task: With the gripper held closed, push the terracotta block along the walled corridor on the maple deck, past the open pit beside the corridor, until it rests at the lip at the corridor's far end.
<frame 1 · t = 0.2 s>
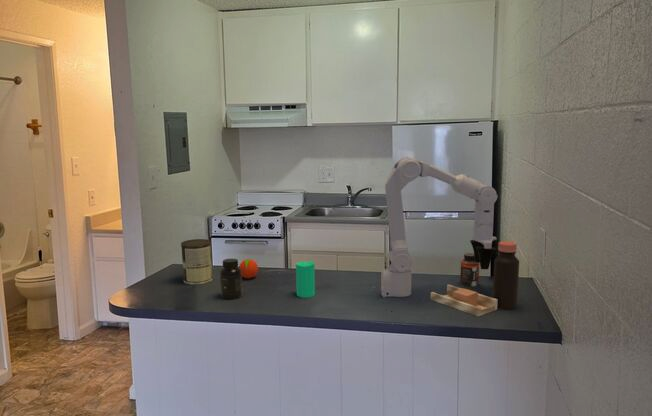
hand: (481, 265, 156), 10 cm above the counter, tool pointing down, fingers open, 7 cm apart
candle: (305, 295, 161), on the counter
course: (460, 307, 148), on the counter
block: (464, 305, 146), point 1 cm above the counter, touching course
supplement bottle 2: (469, 287, 167), on the counter
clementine: (248, 278, 180), on the counter
coffee can: (198, 280, 178), on the counter
supplement bottle: (231, 296, 161), on the counter
vinegar: (504, 310, 146), on the counter
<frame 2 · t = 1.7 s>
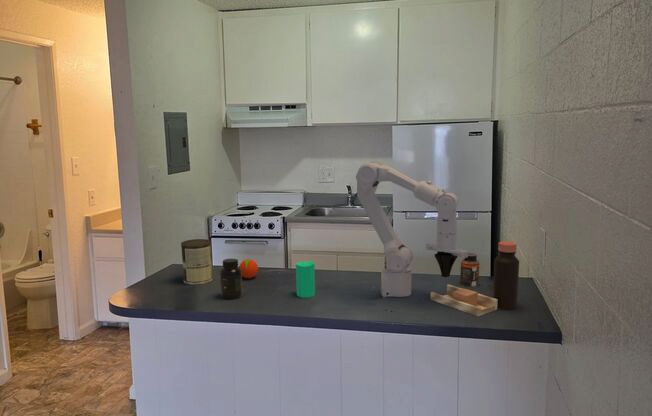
hand: (445, 276, 151), 8 cm above the counter, tool pointing down, fingers closed
nothing on the counter moved.
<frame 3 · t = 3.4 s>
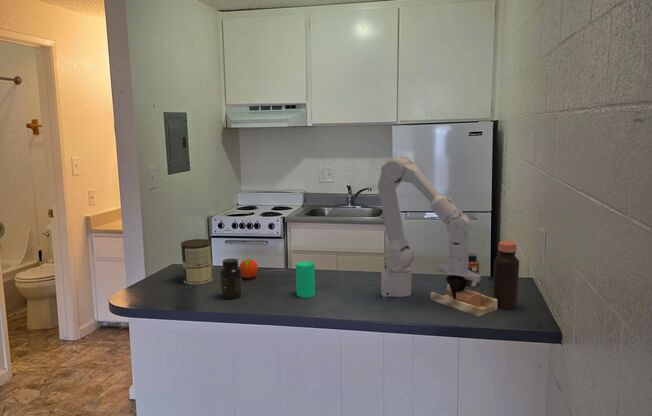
hand: (457, 299, 149), 2 cm above the counter, tool pointing down, fingers closed
block: (468, 306, 146), point 1 cm above the counter, touching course, gripper
everything else where it was.
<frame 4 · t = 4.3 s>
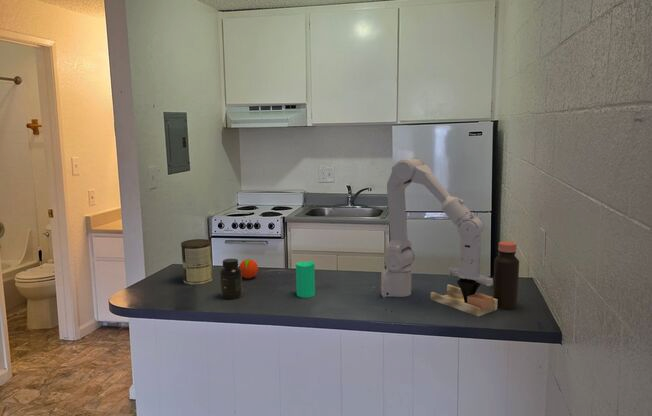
hand: (468, 303, 145), 2 cm above the counter, tool pointing down, fingers closed
block: (479, 310, 142), point 1 cm above the counter, touching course, gripper
everything else where it was.
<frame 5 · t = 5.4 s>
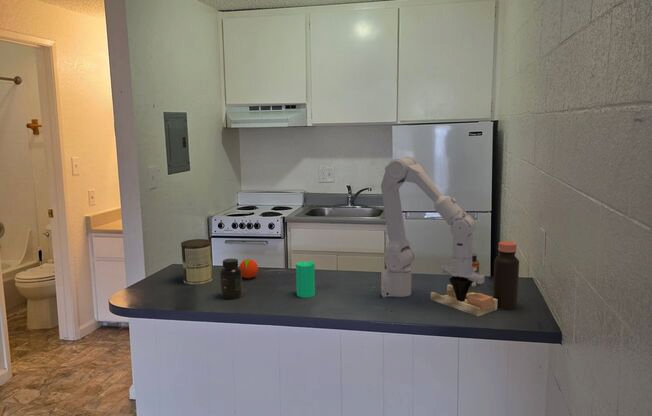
hand: (460, 301, 147), 2 cm above the counter, tool pointing down, fingers closed
block: (479, 310, 142), point 1 cm above the counter, touching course
everything else where it was.
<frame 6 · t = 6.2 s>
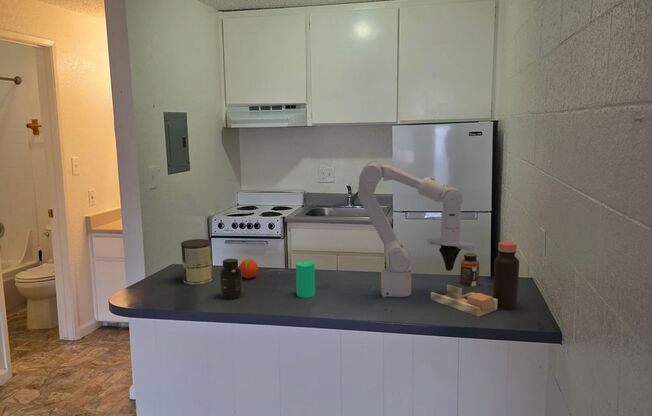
hand: (449, 269, 154), 9 cm above the counter, tool pointing down, fingers closed
nothing on the counter moved.
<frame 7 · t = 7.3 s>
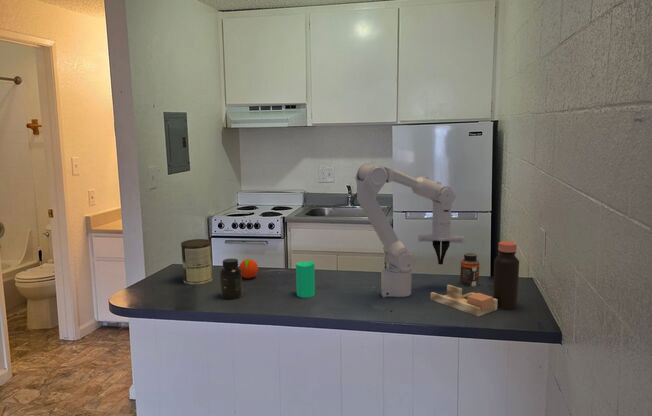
hand: (440, 263, 161), 9 cm above the counter, tool pointing down, fingers closed
nothing on the counter moved.
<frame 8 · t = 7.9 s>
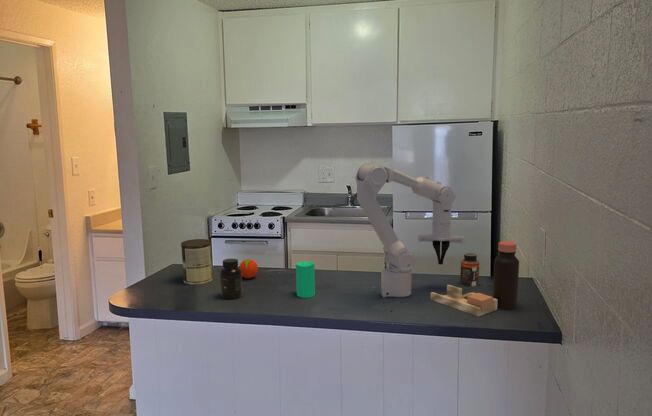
hand: (440, 263, 161), 9 cm above the counter, tool pointing down, fingers closed
nothing on the counter moved.
at the end: block 0.2 cm from the target spot, point 1.2 cm above the counter; block moved 5.2 cm from its start; block tilted 0° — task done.
